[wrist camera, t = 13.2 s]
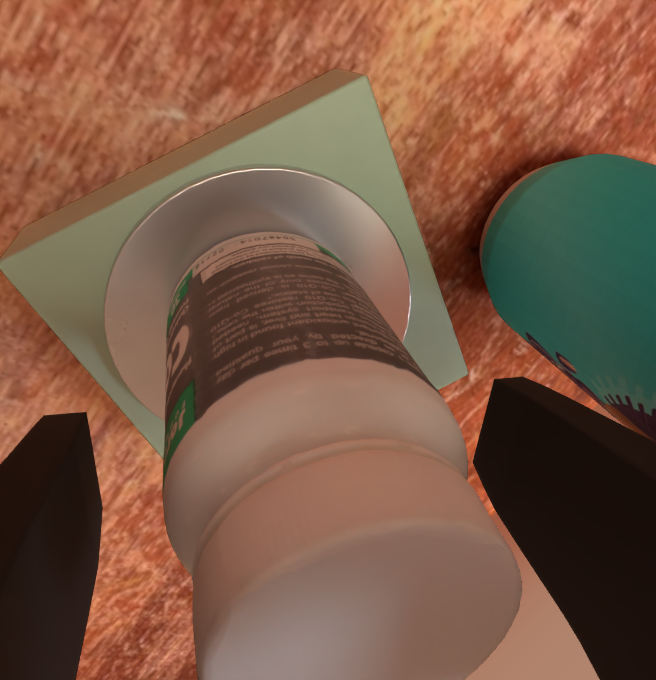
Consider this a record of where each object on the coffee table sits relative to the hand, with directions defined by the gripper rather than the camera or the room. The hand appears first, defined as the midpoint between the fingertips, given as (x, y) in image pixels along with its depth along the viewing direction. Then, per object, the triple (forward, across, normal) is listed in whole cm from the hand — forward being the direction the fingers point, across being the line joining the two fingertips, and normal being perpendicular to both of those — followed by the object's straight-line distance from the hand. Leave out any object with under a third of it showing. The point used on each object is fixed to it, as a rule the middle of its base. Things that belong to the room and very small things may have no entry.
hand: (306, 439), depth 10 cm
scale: (+7, 0, 0) cm, 8 cm away
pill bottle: (+5, 0, 0) cm, 5 cm away
